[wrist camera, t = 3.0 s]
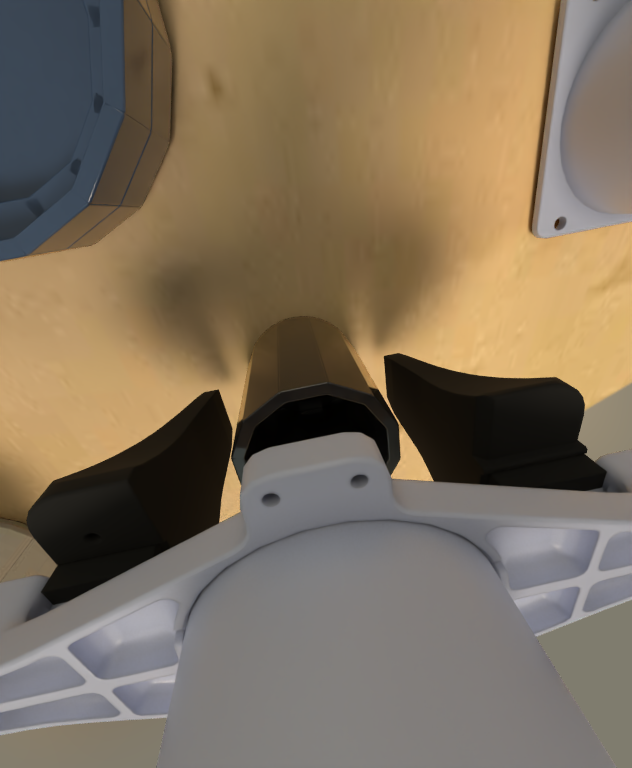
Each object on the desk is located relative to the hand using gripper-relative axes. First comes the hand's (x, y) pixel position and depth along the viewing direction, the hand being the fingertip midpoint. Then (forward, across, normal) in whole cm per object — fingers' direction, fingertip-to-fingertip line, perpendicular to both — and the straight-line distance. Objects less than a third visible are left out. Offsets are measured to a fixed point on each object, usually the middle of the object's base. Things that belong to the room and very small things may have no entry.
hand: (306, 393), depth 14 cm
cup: (+3, 0, 0) cm, 3 cm away
